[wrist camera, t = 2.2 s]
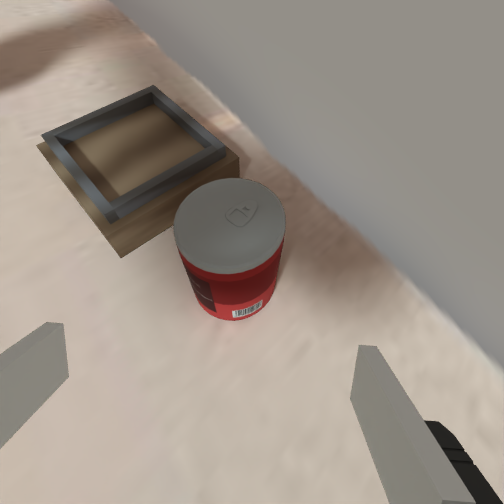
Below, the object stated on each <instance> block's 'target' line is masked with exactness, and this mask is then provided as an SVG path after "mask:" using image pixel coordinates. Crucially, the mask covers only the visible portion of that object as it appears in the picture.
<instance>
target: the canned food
mask: <svg viewBox="0 0 504 504" xmlns="http://www.w3.org/2000/svg"><path fill="white" fill-rule="evenodd" d="M285 223H286V222H285V212H284V208H283V206H282V204H281V202H280V200H279V199H278V198H277V196H276V195H275V194H274V193H273V192H272V191H271V190H269V189H268V188H267V187H265V186H263V185H262V184H260V183H257V182H254V181H252V180H247V179H242V178H226V179H219V180H216V181H212V182H209V183H207V184H204V185H202V186H200V187H199V188H197V189H196V190H194V191H193V192H192V193H190V194H189V195H188V196H187V197H186V198H185V199H184V201H183V202H182V203H181V204H180V206H179V208H178V210H177V212H176V215H175V219H174V236H175V241H176V245H177V247H178V250H179V254H180V256H181V259H182V262H183V264H184V267H185V269H186V272H187V275H188V277H189V280H190V282H191V285H192V288H193V290H194V293H195V295H196V298H197V300H198V302H199V304H200V305H201V306H202V308H203V309H204V310H205V311H207V312H208V313H209V314H210V315H212V316H215V317H217V318H220V319H224V320H232V321H235V320H242V319H245V318H248V317H250V316H252V315H254V314H256V313H257V312H259V311H260V310H261V309H262V308H263V307H264V306H265V305H266V304H267V303H268V301H269V300H270V298H271V296H272V294H273V290H274V287H275V282H276V277H277V272H278V267H279V262H280V257H281V252H282V247H283V242H284V235H285Z"/></svg>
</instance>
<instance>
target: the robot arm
mask: <svg viewBox="0 0 504 504" xmlns="http://www.w3.org/2000/svg"><path fill="white" fill-rule="evenodd" d="M68 377H69V373H68V364H67V354H66V344H65V335H64V325H63V323H50V322H46V323H45V324H43V325H42V326H40V327H39V328H37V329H36V330H35V331H33V332H32V333H30V334H29V335H27V336H26V337H24V338H23V339H22V340H20V341H19V342H17V343H16V344H14V345H13V346H11V347H10V348H9V349H7V350H6V351H4V352H3V353H1V354H0V449H1V448H2V447H3V445H4V444H5V443H6V442H7V441H8V440H9V439H10V438H11V437H12V436H13V435H14V434H15V433H16V432H17V431H18V430H19V429H20V428H21V427H22V426H23V424H24V423H25V422H26V421H27V420H28V419H29V418H30V417H31V416H32V415H33V414H34V413H35V412H36V411H37V410H38V409H39V408H40V407H41V406H42V405H43V403H44V402H45V401H46V400H47V399H48V398H49V397H50V396H51V395H52V394H53V393H54V392H55V391H56V390H57V389H58V388H59V387H60V386H61V385H62V384H63V382H64V381H65V380H66V379H67V378H68ZM350 399H351V402H352V405H353V407H354V410H355V413H356V415H357V418H358V421H359V423H360V426H361V429H362V431H363V434H364V437H365V439H366V442H367V445H368V447H369V450H370V453H371V455H372V458H373V461H374V464H375V466H376V469H377V472H378V474H379V477H380V480H381V482H382V485H383V488H384V490H385V493H386V496H387V498H388V501H389V504H503V503H502V501H501V500H500V498H499V497H498V496H497V494H496V493H495V491H494V490H493V489H492V487H491V486H490V484H489V483H488V482H487V480H486V479H485V478H484V476H483V475H482V473H481V472H480V471H479V469H478V468H477V466H476V465H474V464H473V461H472V459H471V458H470V457H469V455H468V454H467V452H465V451H464V448H463V447H462V445H461V444H460V443H459V441H458V440H457V438H456V437H455V436H454V434H452V433H451V432H450V431H449V430H448V429H447V428H445V427H444V426H443V425H442V424H441V423H440V422H437V421H425V420H423V419H422V417H421V415H420V414H419V412H418V411H417V409H416V408H415V406H414V404H413V403H412V401H411V400H410V398H409V397H408V395H407V393H406V392H405V390H404V389H403V387H402V386H401V384H400V382H399V381H398V379H397V378H396V376H395V375H394V373H393V371H392V370H391V368H390V367H389V365H388V364H387V362H386V360H385V359H384V357H383V356H382V354H381V353H380V351H379V349H378V348H377V346H366V345H359V347H358V353H357V359H356V365H355V372H354V378H353V384H352V390H351V396H350Z"/></svg>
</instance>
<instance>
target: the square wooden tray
mask: <svg viewBox="0 0 504 504" xmlns="http://www.w3.org/2000/svg"><path fill="white" fill-rule="evenodd" d="M41 136H42V137H43V139H44V140H45V142H43V143H40V144H38V145H36V146H37V147H38V149H39V150H40V151H41V153H42V154H43V156H44V157H45V158H46V160H47V161H48V162H49V164H50V165H51V167H52V168H53V169H54V171H55V172H56V173H57V175H58V176H59V177H60V179H61V180H62V181H63V183H64V184H65V185H66V186H67V188H68V189H69V190H70V192H71V193H72V194H73V196H74V197H75V198H76V200H77V201H78V202H79V204H80V205H81V206H82V208H83V209H84V210H85V211H86V213H87V214H88V215H89V217H90V218H91V219H92V221H93V222H94V223H95V225H96V226H97V227H98V229H99V230H100V231H101V233H102V234H103V235H104V237H105V238H106V239H107V240H108V242H109V243H110V244H111V246H112V247H113V248H114V250H115V251H116V252H117V254H118V255H119V256H120V258H122V257H124V256H125V255H127V254H128V253H130V252H132V251H133V250H135V249H136V248H138V247H139V246H141V245H143V244H144V243H146V242H147V241H149V240H150V239H152V238H154V237H155V236H157V235H158V234H160V233H161V232H163V231H165V230H166V229H168V228H169V227H171V226H172V225H174V219H175V215H176V212H177V210H178V208H179V206H180V204H181V203H182V202H183V201H184V199H185V198H186V197H187V196H188V195H189V194H190V193H192V192H193V191H194V190H196V189H197V188H199V187H200V186H202V185H204V184H207V183H209V182H212V181H216V180H219V179H226V178H240V173H239V157H238V156H237V155H236V154H235V153H234V152H232V151H231V150H230V149H229V148H228V147H226V146H225V145H224V144H223V143H222V142H221V141H219V140H218V139H217V138H216V137H215V136H213V135H212V134H211V133H210V132H209V131H208V130H206V129H205V128H204V127H203V126H202V125H200V124H199V123H198V122H197V121H196V120H195V119H193V118H192V117H191V116H190V115H189V114H187V113H186V112H185V111H184V110H183V109H181V108H180V107H179V106H178V105H177V104H176V103H174V102H173V101H172V100H171V99H170V98H168V97H167V96H166V95H165V94H164V93H162V92H161V91H160V90H159V89H158V88H157V87H155V86H154V85H152V86H150V87H148V88H146V89H143V90H141V91H139V92H137V93H134V94H132V95H130V96H128V97H125V98H123V99H121V100H119V101H116V102H114V103H112V104H110V105H107V106H105V107H103V108H101V109H98V110H96V111H94V112H92V113H89V114H87V115H85V116H83V117H80V118H78V119H76V120H73V121H71V122H69V123H67V124H64V125H62V126H60V127H58V128H55V129H53V130H51V131H49V132H46V133H44V134H42V135H41Z"/></svg>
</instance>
